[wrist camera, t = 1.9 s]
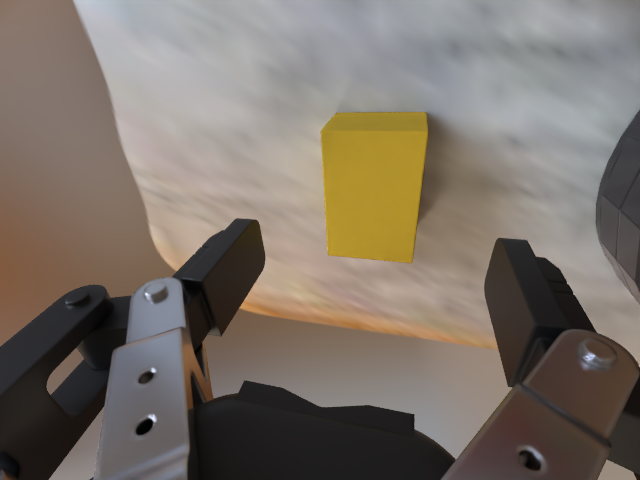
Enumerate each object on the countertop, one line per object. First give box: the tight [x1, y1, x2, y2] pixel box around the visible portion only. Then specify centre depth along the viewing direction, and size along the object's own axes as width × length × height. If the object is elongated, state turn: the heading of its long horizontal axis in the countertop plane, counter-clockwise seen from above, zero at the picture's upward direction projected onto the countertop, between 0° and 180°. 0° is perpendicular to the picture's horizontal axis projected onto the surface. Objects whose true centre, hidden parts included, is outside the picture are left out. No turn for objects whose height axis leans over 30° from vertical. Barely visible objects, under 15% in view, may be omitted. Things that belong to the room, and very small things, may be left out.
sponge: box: [321, 112, 429, 263], centre depth 15 cm, size 6×4×3 cm, turn 4°
